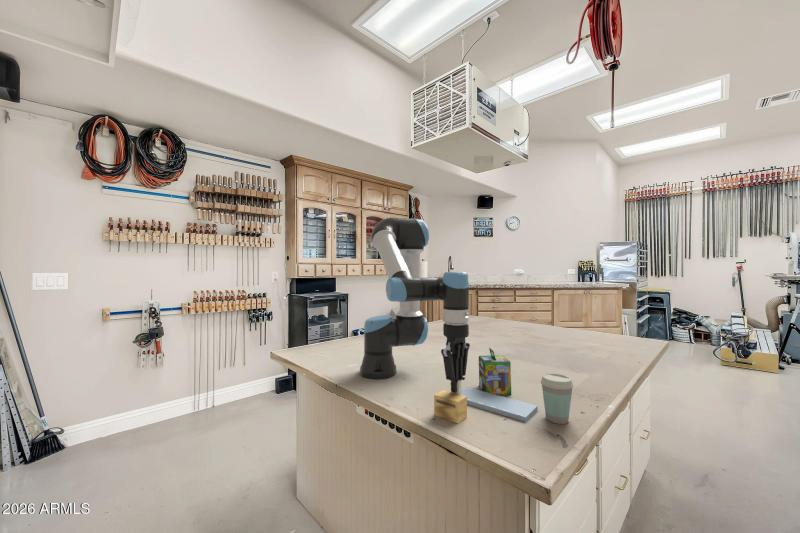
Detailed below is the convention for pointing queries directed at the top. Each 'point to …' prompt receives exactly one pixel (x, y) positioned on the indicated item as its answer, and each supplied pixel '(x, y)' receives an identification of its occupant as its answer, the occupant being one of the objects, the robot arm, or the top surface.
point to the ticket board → (499, 404)
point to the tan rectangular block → (450, 406)
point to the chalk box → (495, 374)
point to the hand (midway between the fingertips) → (456, 401)
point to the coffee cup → (557, 397)
